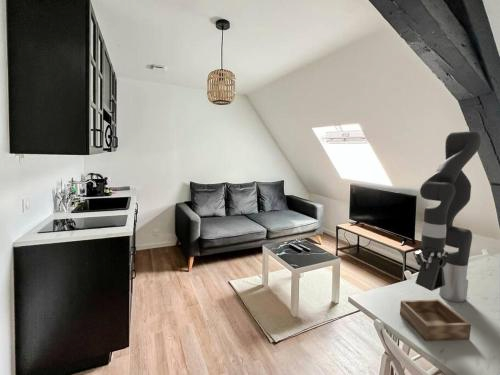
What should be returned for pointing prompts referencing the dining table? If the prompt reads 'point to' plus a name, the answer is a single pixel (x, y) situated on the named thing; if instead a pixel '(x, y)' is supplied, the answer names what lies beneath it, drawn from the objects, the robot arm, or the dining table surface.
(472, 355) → the dining table surface
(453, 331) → the walnut box
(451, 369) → the dining table surface
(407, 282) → the dining table surface
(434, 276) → the door stopper
